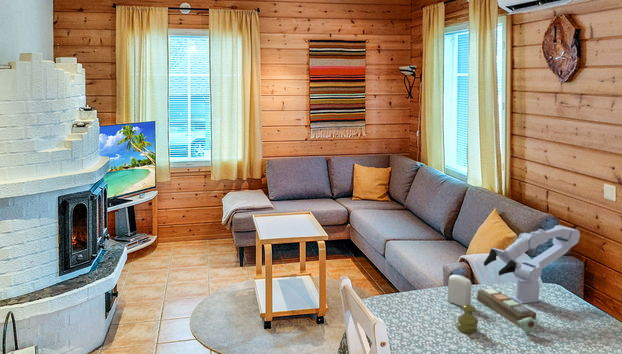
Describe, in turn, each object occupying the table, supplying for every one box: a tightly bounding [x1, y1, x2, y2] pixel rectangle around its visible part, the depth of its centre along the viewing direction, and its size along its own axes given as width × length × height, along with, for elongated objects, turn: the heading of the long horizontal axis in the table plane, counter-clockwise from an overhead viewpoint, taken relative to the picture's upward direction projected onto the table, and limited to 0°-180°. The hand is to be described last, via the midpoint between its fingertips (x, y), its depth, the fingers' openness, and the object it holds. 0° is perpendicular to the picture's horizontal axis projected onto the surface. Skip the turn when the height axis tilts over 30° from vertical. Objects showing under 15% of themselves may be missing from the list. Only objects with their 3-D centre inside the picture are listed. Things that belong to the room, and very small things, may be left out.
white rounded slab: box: [447, 274, 472, 307], centre depth 247 cm, size 10×4×12 cm, turn 39°
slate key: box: [513, 305, 531, 314], centre depth 231 cm, size 4×4×2 cm
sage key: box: [503, 299, 520, 307], centre depth 237 cm, size 4×4×2 cm
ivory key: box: [483, 288, 500, 295], centre depth 249 cm, size 4×4×2 cm
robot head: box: [517, 317, 539, 335], centre depth 219 cm, size 8×4×7 cm, turn 96°
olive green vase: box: [456, 303, 479, 334], centre depth 222 cm, size 7×7×10 cm
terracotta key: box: [493, 293, 510, 301], centre depth 243 cm, size 4×4×2 cm
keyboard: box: [476, 288, 537, 327], centre depth 240 cm, size 8×28×4 cm, turn 19°
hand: (491, 268), depth 240 cm, fingers open, 7 cm apart
